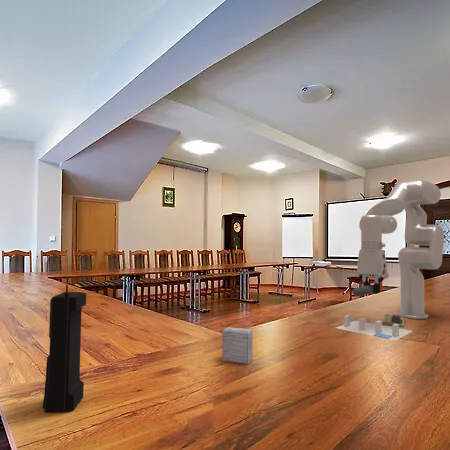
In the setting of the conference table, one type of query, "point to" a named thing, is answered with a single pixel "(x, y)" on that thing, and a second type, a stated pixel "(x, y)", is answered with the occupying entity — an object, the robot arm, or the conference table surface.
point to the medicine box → (237, 345)
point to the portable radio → (64, 353)
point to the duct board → (373, 328)
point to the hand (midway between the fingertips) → (371, 292)
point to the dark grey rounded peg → (363, 290)
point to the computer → (393, 320)
